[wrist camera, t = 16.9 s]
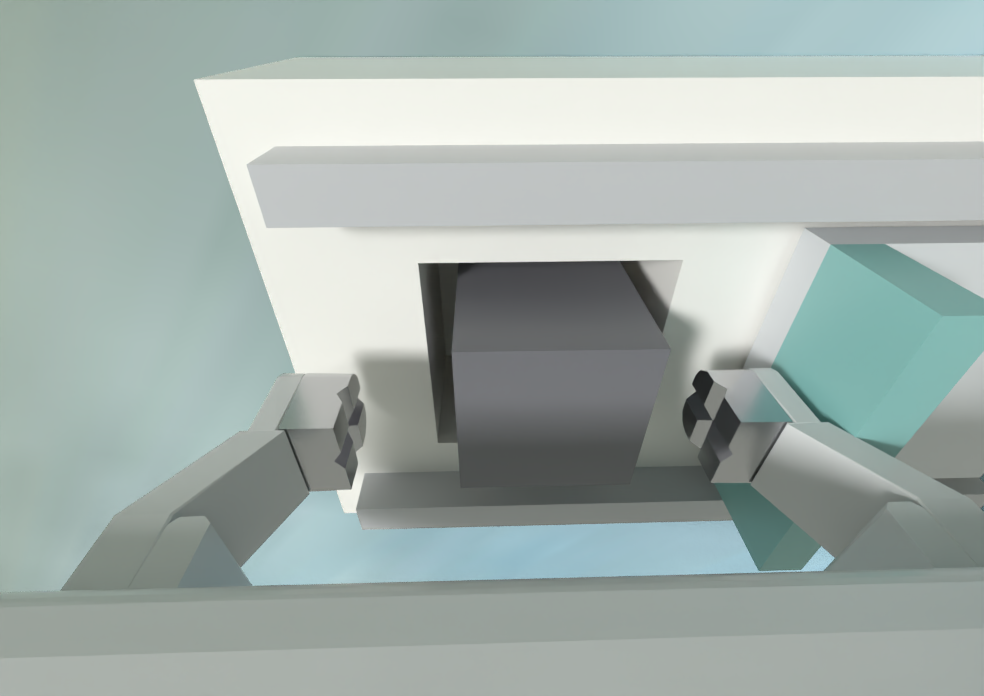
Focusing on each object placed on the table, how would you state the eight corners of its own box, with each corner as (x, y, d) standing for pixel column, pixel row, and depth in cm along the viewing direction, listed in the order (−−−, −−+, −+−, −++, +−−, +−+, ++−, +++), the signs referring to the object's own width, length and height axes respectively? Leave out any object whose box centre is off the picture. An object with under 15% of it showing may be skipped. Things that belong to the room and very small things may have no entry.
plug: (461, 226, 13) (451, 352, 8) (598, 225, 13) (671, 349, 8) (465, 338, 15) (460, 487, 10) (581, 337, 15) (629, 484, 10)
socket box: (296, 57, 11) (149, 89, 6) (1072, 55, 11) (1525, 83, 7) (373, 404, 18) (334, 548, 13) (849, 395, 19) (984, 532, 14)
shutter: (804, 227, 9) (942, 315, 6) (1175, 223, 9) (1463, 308, 6) (702, 459, 13) (758, 570, 10) (955, 454, 13) (1073, 562, 10)
